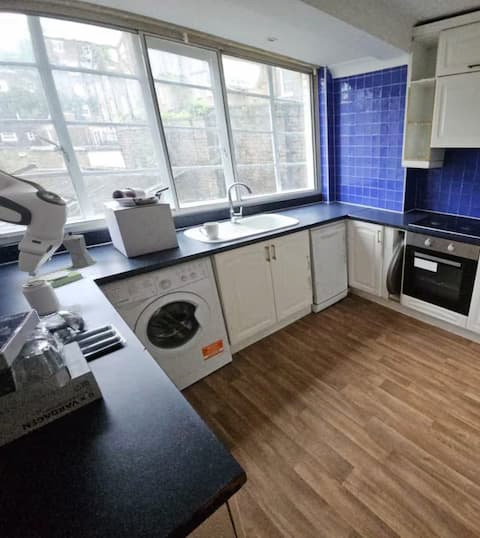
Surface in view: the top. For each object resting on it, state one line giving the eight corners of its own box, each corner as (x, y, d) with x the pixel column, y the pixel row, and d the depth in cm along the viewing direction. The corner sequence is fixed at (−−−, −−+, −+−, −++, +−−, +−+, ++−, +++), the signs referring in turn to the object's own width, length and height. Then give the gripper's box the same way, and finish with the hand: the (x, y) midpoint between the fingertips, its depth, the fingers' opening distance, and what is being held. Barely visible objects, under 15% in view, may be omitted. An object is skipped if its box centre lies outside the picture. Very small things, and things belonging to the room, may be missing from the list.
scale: (44, 290, 128) (41, 284, 127) (29, 285, 133) (26, 279, 132) (82, 277, 139) (80, 272, 138) (67, 273, 145) (64, 268, 144)
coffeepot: (101, 262, 157) (87, 230, 150) (80, 269, 150) (65, 235, 142) (85, 259, 163) (71, 228, 156) (64, 265, 155) (48, 233, 148)
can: (33, 312, 111) (18, 283, 106) (60, 304, 116) (46, 276, 112) (36, 318, 107) (20, 289, 102) (64, 309, 112) (50, 281, 107)
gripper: (47, 220, 108) (42, 250, 112) (14, 248, 92) (10, 281, 97) (70, 226, 111) (64, 255, 116) (42, 254, 95) (37, 286, 100)
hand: (39, 267), depth 106 cm, fingers open, 8 cm apart
